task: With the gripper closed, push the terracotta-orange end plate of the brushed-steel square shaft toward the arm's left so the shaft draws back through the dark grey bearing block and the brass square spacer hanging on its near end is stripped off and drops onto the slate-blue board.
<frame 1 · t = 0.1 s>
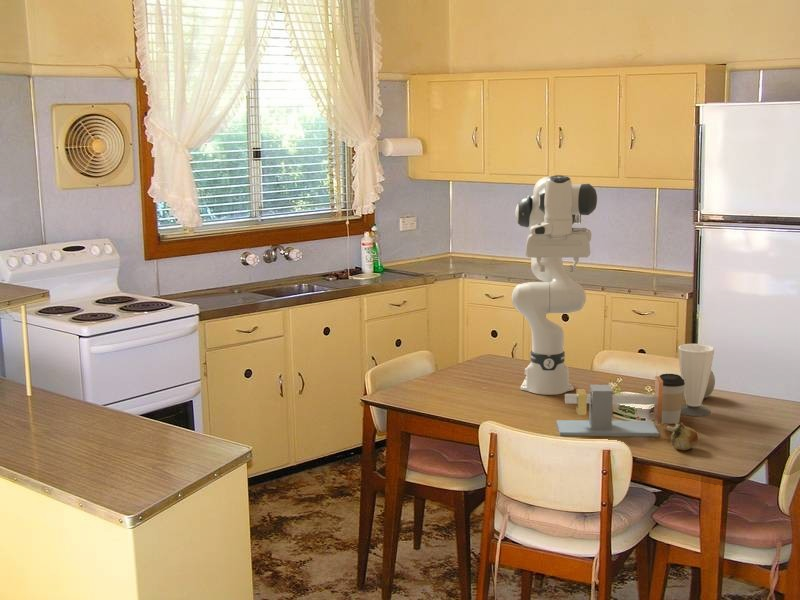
hand: (557, 271, 310), 48 cm above the table, fingers open, 8 cm apart
shaft: (612, 399, 304), point 10 cm above the table, slide at 0.0 cm, touching spacer
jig: (606, 429, 306), on the table
cup: (693, 411, 323), on the table
fruit: (698, 398, 337), on the table
coffee cup: (668, 420, 314), on the table
onion: (683, 449, 288), on the table
spacer: (581, 411, 305), point 6 cm above the table, touching shaft
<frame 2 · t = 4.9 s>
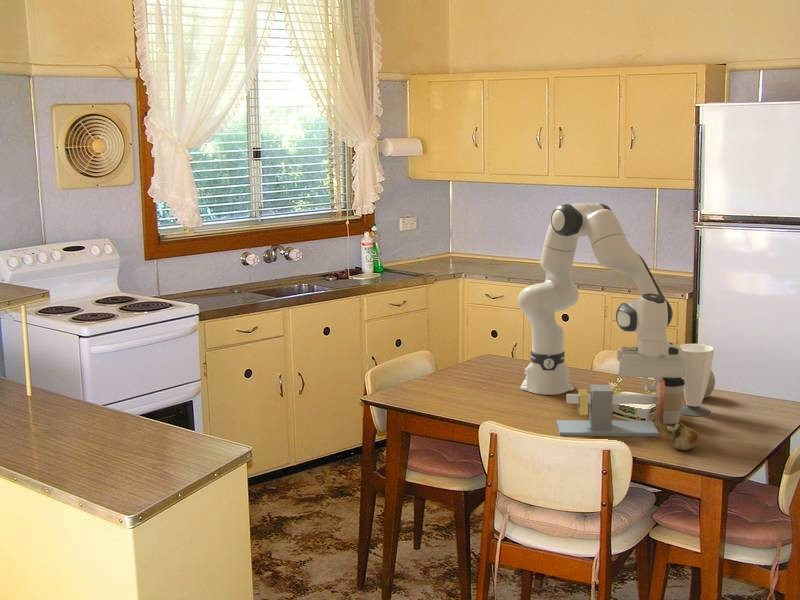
hand: (650, 390, 302), 13 cm above the table, fingers closed
shaft: (614, 399, 304), point 10 cm above the table, slide at 0.5 cm, touching gripper, spacer
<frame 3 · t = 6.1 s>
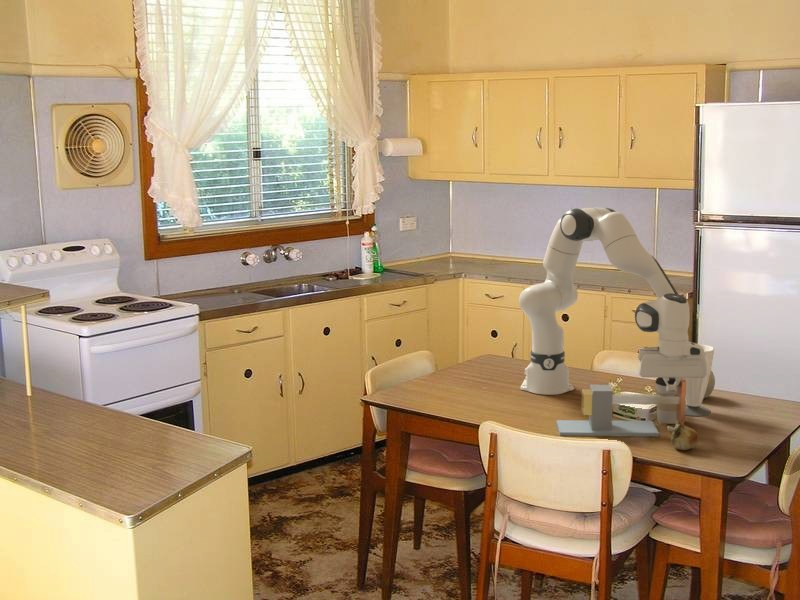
hand: (671, 390, 302), 13 cm above the table, fingers closed
shaft: (635, 399, 303), point 10 cm above the table, slide at 6.9 cm, touching gripper, spacer
spacer: (586, 412, 305), point 6 cm above the table, touching shaft
everything else where it was.
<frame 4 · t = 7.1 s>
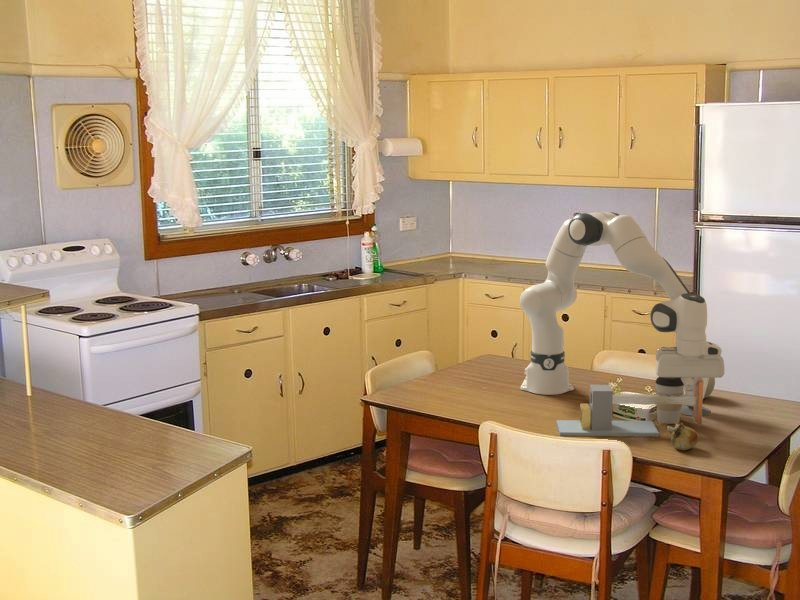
hand: (688, 390, 301), 13 cm above the table, fingers closed
shaft: (652, 399, 303), point 10 cm above the table, slide at 12.0 cm, touching gripper
spacer: (584, 426, 306), point 1 cm above the table, touching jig
everything else where it was.
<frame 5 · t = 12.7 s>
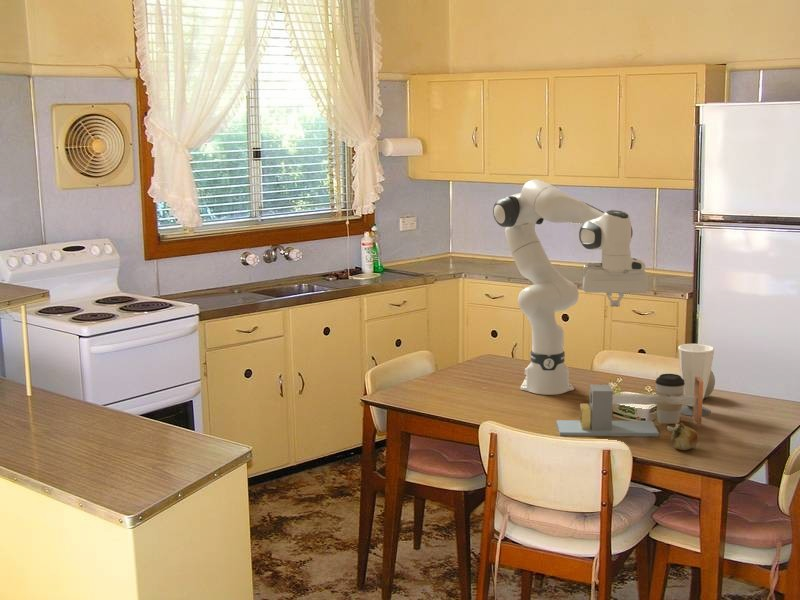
hand: (614, 306, 309), 37 cm above the table, fingers closed
shaft: (651, 399, 303), point 10 cm above the table, slide at 12.0 cm
everything else where it was.
at the end: shaft slide at 12.0 cm; spacer point 1.0 cm above the table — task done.
